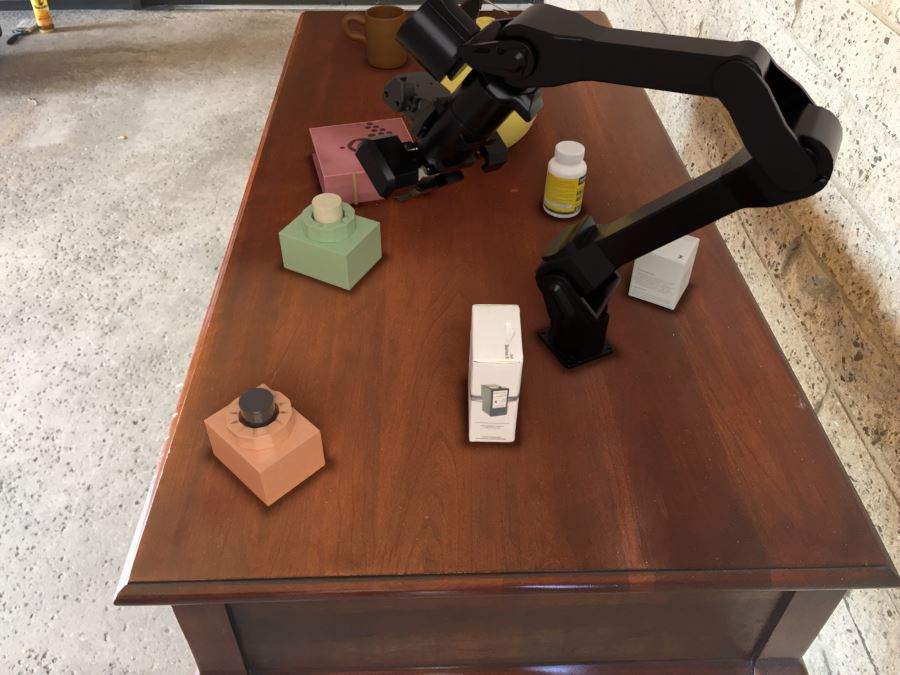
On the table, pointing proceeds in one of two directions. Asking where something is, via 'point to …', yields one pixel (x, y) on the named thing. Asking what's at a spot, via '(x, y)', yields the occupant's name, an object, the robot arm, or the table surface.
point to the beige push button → (327, 208)
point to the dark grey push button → (257, 407)
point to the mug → (379, 35)
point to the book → (349, 157)
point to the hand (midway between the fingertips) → (399, 197)
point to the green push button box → (331, 247)
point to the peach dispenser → (267, 448)
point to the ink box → (494, 372)
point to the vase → (514, 123)
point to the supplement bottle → (565, 180)
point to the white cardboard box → (664, 272)
